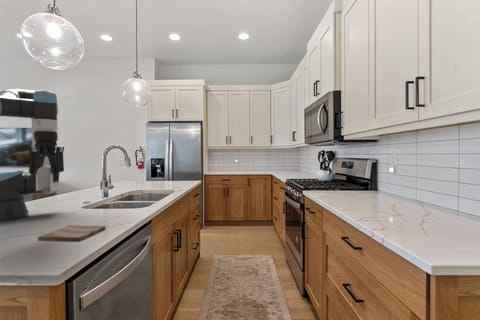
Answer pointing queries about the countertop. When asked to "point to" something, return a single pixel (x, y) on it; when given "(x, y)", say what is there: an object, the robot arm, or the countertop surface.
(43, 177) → the lightbulb
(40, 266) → the countertop surface
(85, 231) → the plate
